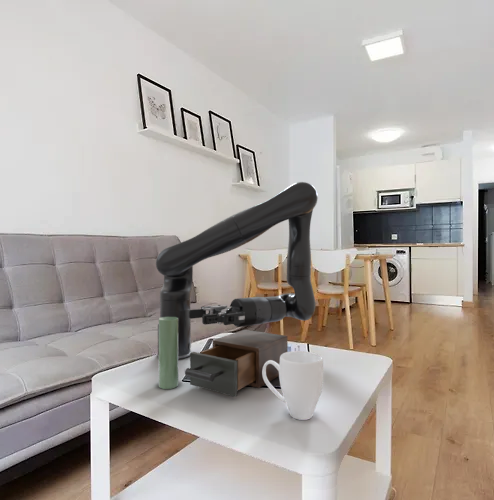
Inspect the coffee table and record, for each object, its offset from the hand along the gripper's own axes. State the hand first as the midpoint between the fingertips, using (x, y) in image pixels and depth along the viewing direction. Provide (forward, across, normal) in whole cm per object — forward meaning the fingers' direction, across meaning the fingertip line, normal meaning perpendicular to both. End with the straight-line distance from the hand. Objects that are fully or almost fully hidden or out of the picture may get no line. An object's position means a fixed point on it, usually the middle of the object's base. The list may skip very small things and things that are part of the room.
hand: (195, 317), depth 90 cm
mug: (-9, +27, +16) cm, 32 cm away
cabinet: (-14, +3, +16) cm, 21 cm away
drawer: (-3, +8, +15) cm, 17 cm away
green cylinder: (+7, 0, +16) cm, 17 cm away
